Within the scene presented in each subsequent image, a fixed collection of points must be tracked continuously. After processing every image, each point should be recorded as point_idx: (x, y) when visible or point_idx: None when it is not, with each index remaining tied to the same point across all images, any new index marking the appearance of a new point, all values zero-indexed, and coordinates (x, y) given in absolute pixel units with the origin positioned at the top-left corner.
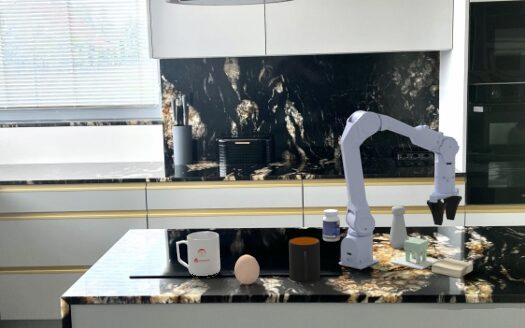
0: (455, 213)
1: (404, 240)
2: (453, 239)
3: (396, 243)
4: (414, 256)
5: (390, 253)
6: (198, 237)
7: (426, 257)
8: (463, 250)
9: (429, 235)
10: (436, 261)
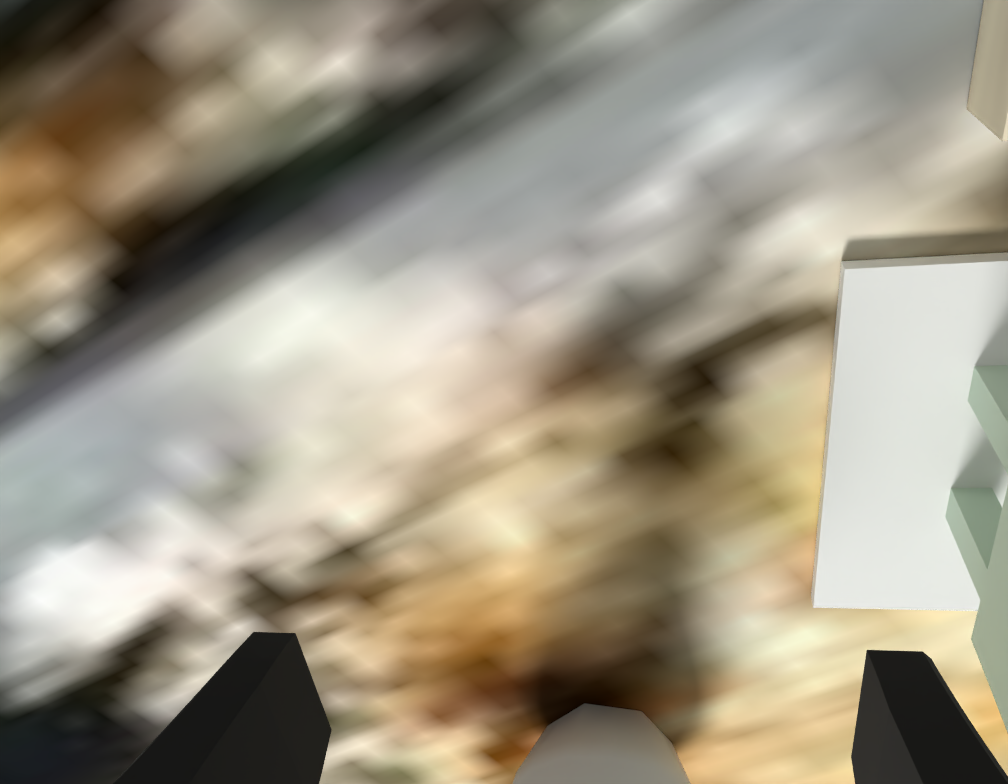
0: (165, 750)
1: (628, 768)
2: (12, 518)
3: (687, 781)
4: (1000, 509)
5: None
6: None
7: (990, 388)
8: (218, 266)
9: (116, 696)
10: (924, 262)
